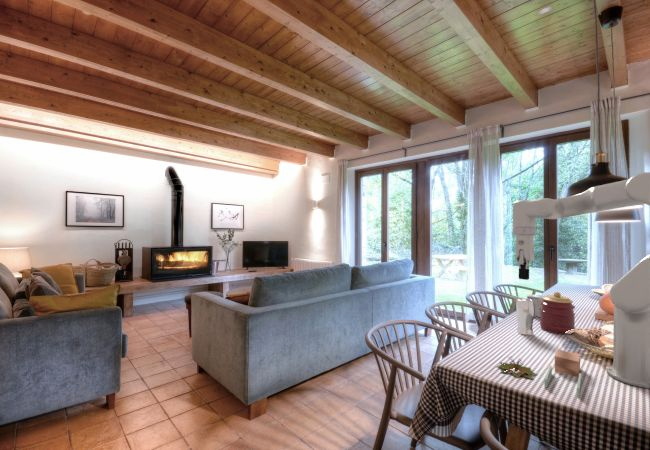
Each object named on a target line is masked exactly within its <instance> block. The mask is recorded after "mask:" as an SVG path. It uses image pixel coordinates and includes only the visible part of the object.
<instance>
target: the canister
mask: <svg viewBox="0 0 650 450" xmlns="http://www.w3.org/2000/svg"><path fill="white" fill-rule="evenodd" d="M544 296H545V297H543V298H542V299H544V300H543V301H541V302H540V304H541V305H542V306H541V309H540V311H541V317H540V322H539V325H540V328H541V329H542V330H544V331H546V332H550V333H554V334H558V335H559V334H560V335H566V334H565V332H566V331H568V330H571V329H575V330H576V326H575V323H576V322H575V319H576V314H575V309H576V306H575V305H573V304H572V303H573V302H574V301H573V300H571V299H570V298H569V297H566V296H562V294H561V293H560V292H558V291H555V292H554V293H553V294H548V295H544Z"/></svg>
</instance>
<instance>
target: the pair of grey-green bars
mask: <svg viewBox="0 0 650 450" xmlns="http://www.w3.org/2000/svg"><path fill="white" fill-rule="evenodd" d="M552 369H553V366H552V365H549V366H548V369H547V372H546V375H545V376H544V388H545V389H547V388H548V385H549V383H550V379H551V377H552V372H553V370H552ZM577 378H578V380H577V385H576V397H577V398H580V395H581V394H580V393H581V388H582V387H581V386H582V373H580V372H579V377H577Z"/></svg>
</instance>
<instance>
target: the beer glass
mask: <svg viewBox="0 0 650 450" xmlns="http://www.w3.org/2000/svg"><path fill="white" fill-rule="evenodd" d="M515 303H516V304H515V312H516V318H517V329H516V330H517V331H516V332H517V333H518V334H519V335H523V336H527V337H528V336H530V337H531V336H534V331H533V323H534V319H535V316H534V314H535V306H534V300H531V299H527V297H526V298H525V297H523V298H522V297H518V298H516V302H515Z"/></svg>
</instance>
